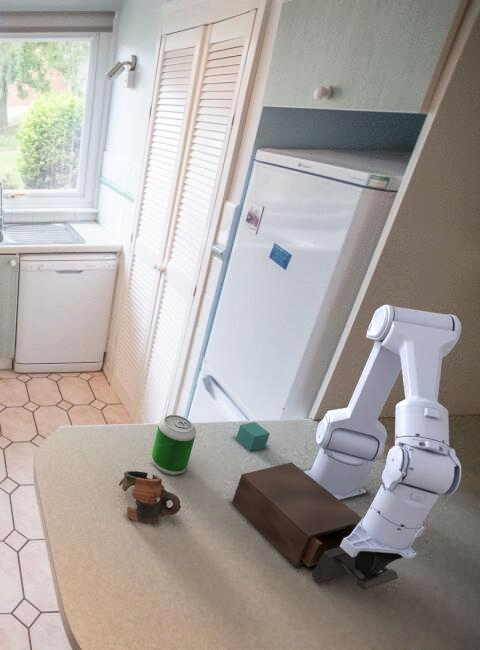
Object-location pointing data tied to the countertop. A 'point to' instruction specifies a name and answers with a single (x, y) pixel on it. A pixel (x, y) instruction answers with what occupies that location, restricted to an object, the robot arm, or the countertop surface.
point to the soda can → (173, 444)
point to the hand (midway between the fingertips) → (363, 571)
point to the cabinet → (290, 508)
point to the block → (252, 436)
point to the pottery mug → (148, 497)
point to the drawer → (339, 560)
